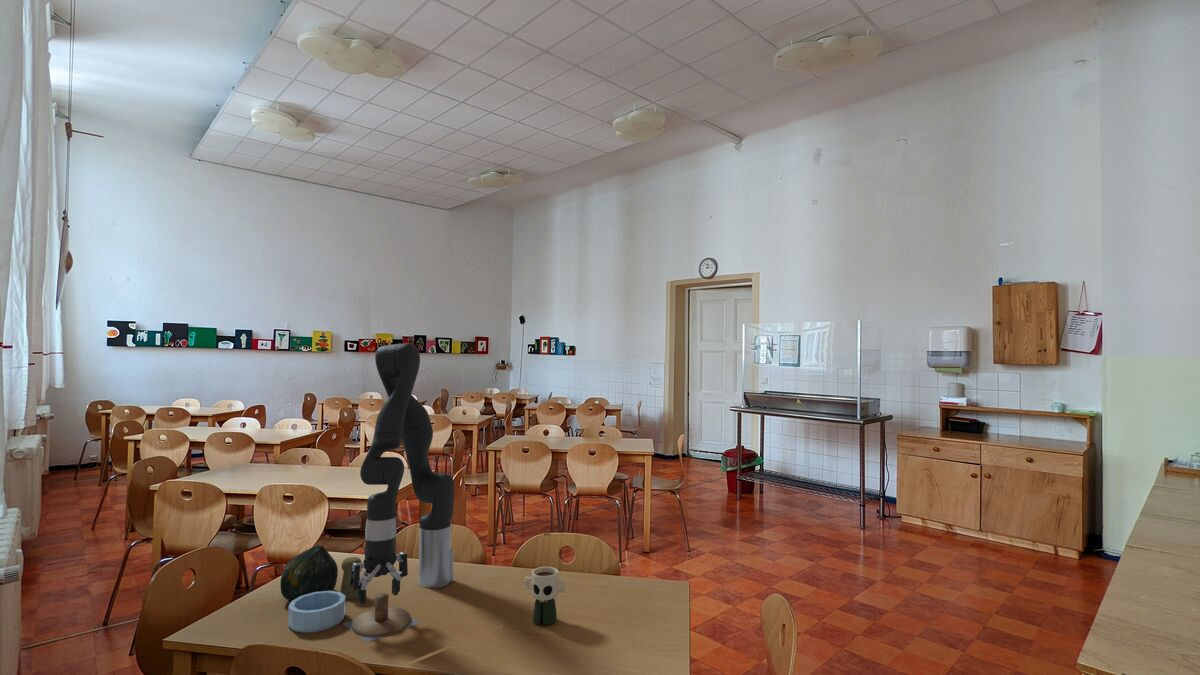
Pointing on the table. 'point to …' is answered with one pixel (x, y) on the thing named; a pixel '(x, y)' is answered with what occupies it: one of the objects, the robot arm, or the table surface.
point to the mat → (371, 638)
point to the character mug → (545, 593)
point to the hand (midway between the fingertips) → (378, 599)
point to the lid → (381, 619)
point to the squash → (309, 573)
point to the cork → (348, 578)
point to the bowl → (316, 611)
